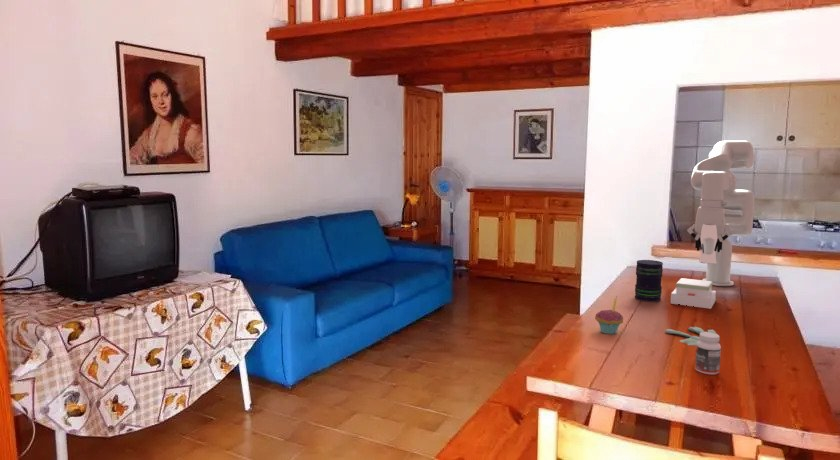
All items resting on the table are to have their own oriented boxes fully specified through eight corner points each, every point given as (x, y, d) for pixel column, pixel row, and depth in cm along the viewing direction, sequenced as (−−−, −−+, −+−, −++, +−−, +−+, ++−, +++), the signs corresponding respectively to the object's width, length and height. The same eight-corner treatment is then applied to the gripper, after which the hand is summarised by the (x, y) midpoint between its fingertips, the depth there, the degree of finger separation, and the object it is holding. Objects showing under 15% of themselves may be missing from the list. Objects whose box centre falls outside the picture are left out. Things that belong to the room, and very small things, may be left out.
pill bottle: (690, 367, 150) (692, 331, 149) (710, 366, 150) (713, 331, 149) (703, 375, 144) (705, 338, 143) (724, 374, 145) (726, 337, 144)
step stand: (676, 296, 228) (678, 276, 227) (715, 301, 221) (716, 281, 220) (670, 303, 217) (671, 283, 216) (710, 308, 209) (712, 287, 208)
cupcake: (622, 329, 184) (624, 293, 182) (622, 337, 176) (624, 299, 174) (595, 326, 186) (596, 291, 185) (594, 334, 178) (595, 297, 177)
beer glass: (713, 261, 219) (715, 222, 217) (721, 264, 212) (723, 224, 210) (694, 260, 219) (696, 222, 217) (702, 264, 212) (704, 224, 211)
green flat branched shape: (690, 351, 165) (691, 343, 165) (642, 329, 186) (642, 322, 186) (746, 344, 171) (747, 337, 170) (693, 324, 191) (694, 317, 191)
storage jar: (634, 300, 222) (636, 263, 220) (634, 294, 231) (636, 259, 229) (661, 302, 218) (663, 265, 216) (660, 297, 227) (663, 260, 225)
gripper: (738, 204, 211) (734, 251, 214) (687, 202, 221) (684, 247, 223) (736, 206, 205) (733, 254, 207) (685, 204, 214) (682, 250, 216)
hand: (708, 250), depth 215 cm, fingers closed on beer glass, 6 cm apart
